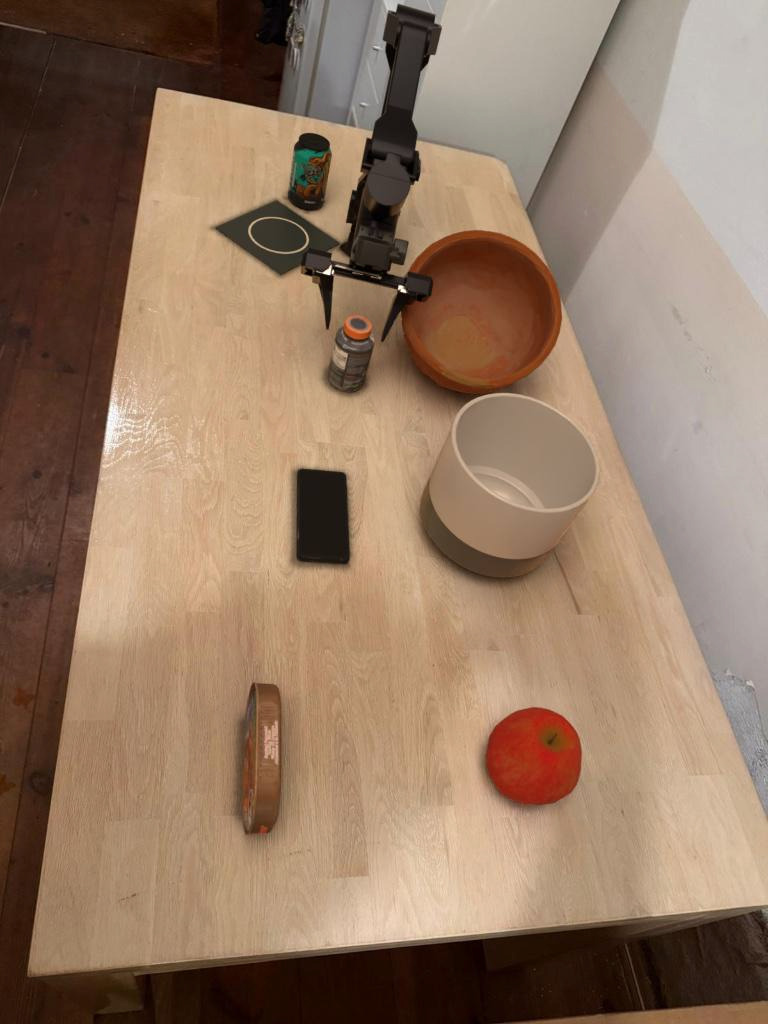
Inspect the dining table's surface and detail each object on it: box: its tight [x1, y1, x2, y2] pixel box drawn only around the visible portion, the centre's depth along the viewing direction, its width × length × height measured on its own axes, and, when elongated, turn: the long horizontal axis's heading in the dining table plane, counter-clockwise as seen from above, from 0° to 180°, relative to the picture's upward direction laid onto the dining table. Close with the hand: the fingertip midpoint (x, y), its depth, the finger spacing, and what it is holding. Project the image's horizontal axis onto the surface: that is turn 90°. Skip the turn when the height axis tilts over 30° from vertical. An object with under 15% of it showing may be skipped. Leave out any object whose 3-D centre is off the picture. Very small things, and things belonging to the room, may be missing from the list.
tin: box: [241, 681, 283, 836], centre depth 76 cm, size 15×3×8 cm, turn 5°
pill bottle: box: [327, 314, 375, 393], centre depth 113 cm, size 6×6×11 cm
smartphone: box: [296, 468, 351, 564], centre depth 100 cm, size 7×1×15 cm
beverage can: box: [287, 132, 333, 211], centre depth 140 cm, size 7×7×12 cm
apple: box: [485, 706, 583, 806], centre depth 81 cm, size 10×10×10 cm
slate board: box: [214, 199, 341, 276], centre depth 135 cm, size 16×16×1 cm
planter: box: [420, 392, 601, 578], centre depth 98 cm, size 19×19×18 cm
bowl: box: [400, 229, 563, 395], centre depth 119 cm, size 25×25×15 cm
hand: (355, 335), depth 107 cm, fingers open, 8 cm apart
